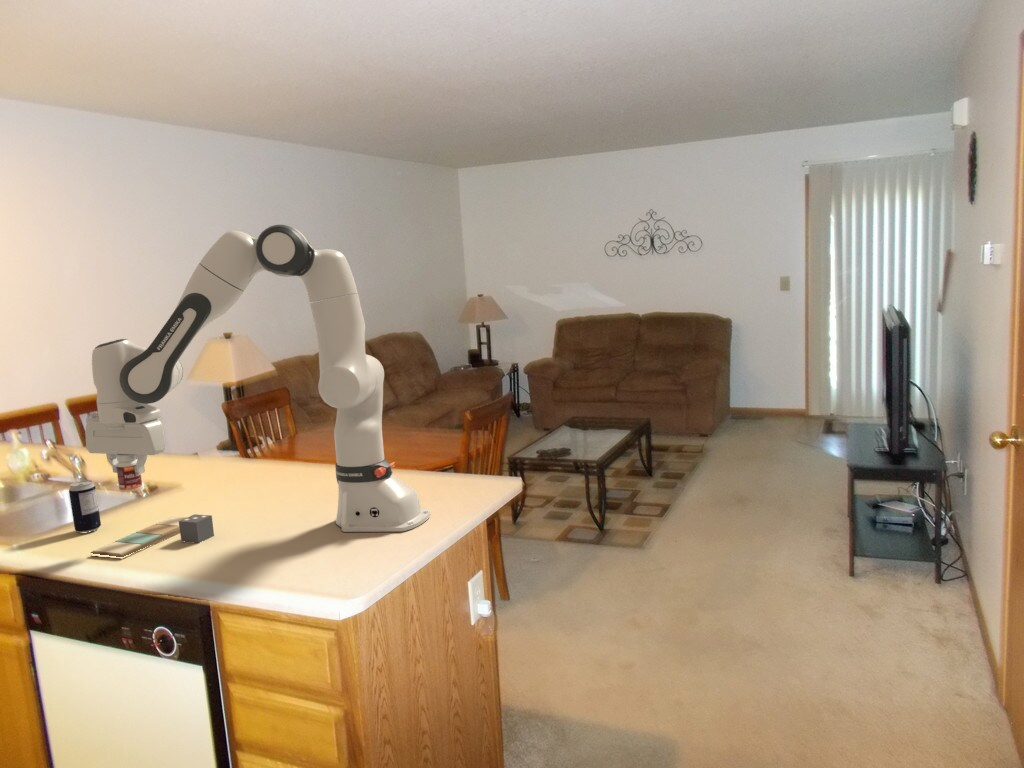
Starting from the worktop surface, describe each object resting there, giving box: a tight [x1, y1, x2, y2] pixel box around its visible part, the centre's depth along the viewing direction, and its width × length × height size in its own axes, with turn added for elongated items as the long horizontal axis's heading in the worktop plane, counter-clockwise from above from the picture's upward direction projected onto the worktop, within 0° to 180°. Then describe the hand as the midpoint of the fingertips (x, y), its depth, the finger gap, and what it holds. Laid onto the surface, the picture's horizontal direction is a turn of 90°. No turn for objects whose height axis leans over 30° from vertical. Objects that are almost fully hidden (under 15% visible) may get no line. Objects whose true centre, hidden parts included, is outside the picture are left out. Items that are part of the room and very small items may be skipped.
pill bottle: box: [116, 454, 143, 493], centre depth 179 cm, size 5×5×8 cm
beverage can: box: [68, 480, 102, 533], centre depth 192 cm, size 6×6×12 cm
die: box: [179, 514, 215, 544], centre depth 182 cm, size 5×5×5 cm
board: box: [90, 516, 187, 557], centre depth 184 cm, size 9×24×1 cm, turn 160°
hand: (129, 472), depth 179 cm, fingers closed on pill bottle, 5 cm apart
